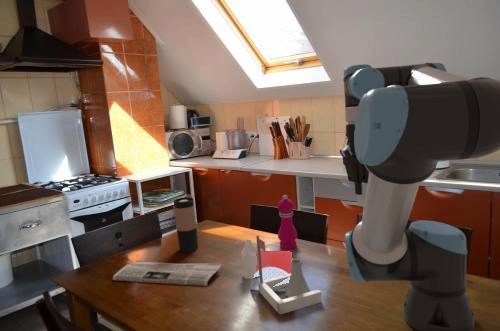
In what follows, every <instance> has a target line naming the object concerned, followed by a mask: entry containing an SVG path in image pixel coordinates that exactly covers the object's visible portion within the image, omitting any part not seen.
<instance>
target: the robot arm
mask: <svg viewBox="0 0 500 331" xmlns="http://www.w3.org/2000/svg"><path fill="white" fill-rule="evenodd" d="M342 81H343V87H344V88H343V90H344V91H343V92H344V93H343V94H344V111H345V114H344V115H345V118H344V119H345V122H346V123H347V124H346V125H345V136H346V138H347V142H346V146H345V147H344V148H342V149H339V153H340V155H341V157H342V159H343V164H344V167H345V172H346V175H347V180H348V182H352V183H353V184H354V190H355V191H354V193H355V195H356V200H357V202H356V204H357V205H358V206H361V207H363V211H362V218H361V221H360V222H359V223H358V224H356V226H355V228H354V229H353V230H350V231H346V232H344V244H345V252H346V257H347V258H346V259H347V264H348V270H349V275H350V278H351V279H352V280H353V281H355V282H365V283H369V282H373V283H374V282H410V286H409V288H408V291H407V293H406V294H407V295H406V297H405V300H404V302H403V306H402V310H403V311H402V315H403V319H404V320H405V322H406V323H407V324H408V325H409V326H410V327H411V328H413V329H415V330H416V331H474V330H475V322H476V321H475V320H476V318H475V314H474V312H473V310H472V308H471V305H470V301H469V298H468V295H467V266H468V265H467V264H468V263H467V262H468V261H467V260H468V252H469V251H468V249H467V247H468V246H467V237H466V235H465V234H464V232H463V231H462V230H461V229H460V228H458V227H455V226H453V225H451V224H447V223H444V222H439V221H433V220H424V219H423V220H415V221H412V222H411V223H410V224H409V226H408V229H406V227H407V224H408V221H409V218H410V215H411V213H412V212H411V211H412V209H413V207H414V202H415V199H416V196H417V193H418V191H419V186H420V184H421V183H423V182H425V181H427V180H428V179H429V178H431V176H432V175H433V174H434V172H435V170H436V168H437V166H438V163H439V162H442V161H443V162H446V161H462V160H463V161H464V160H470V159H472V160H474V159H479V158H482V157H485V156H489V155H491V154H493V153H496V152H498V151H499V150H500V80H497V79H493V78H491V77H484V76H481V77H479V76H478V77H474V78H467V77H464V76H461V75H458V74H456V73H455V74H454V73H451V72H448V71H447V68H446V67H445V65H444V64H443V63H441V62H425V63H419V64H409V65H408V64H407V65H400V66H399V65H396V66H395V65H394V66H384V67H372V66H371V65H370V64H368V63H367V64H366V63H364V64H352V65H349V66H346V67H345V68H344V69H343V80H342Z"/></svg>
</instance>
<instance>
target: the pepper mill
mask: <svg viewBox="0 0 500 331" xmlns="http://www.w3.org/2000/svg"><path fill="white" fill-rule="evenodd" d="M294 207H295V205H294V202H293V201H292V200H291V199H289V198H288V195H286V194H284V195H282V199H280V200H279V202H277V210H278V211H279V217H280V227H279V229H278V232H277V237H278V240H279V241H280V242H279V247H280V249H282V250H285V251H286V250H293V249H296V248H297V241H296V240H297V238H298V232H297V230H296V228H295V226H294V223H293V216H294V212H293V210H294Z"/></svg>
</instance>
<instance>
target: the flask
mask: <svg viewBox="0 0 500 331" xmlns="http://www.w3.org/2000/svg"><path fill="white" fill-rule="evenodd" d="M302 262H303V260H302V259H300V258H294V259H290V262H289V263H290V264H291V272H290V273H291V277H290V280H289V284H288V286H287V287H286V291H285V294H284V295H285V296H286V297H287V298H290V297H293V296H297V295H300V294H304V293H307V292H311V290H310V288H309V286H308V283H307V281H306V278H305V276H304V273H303V269H302Z"/></svg>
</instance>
